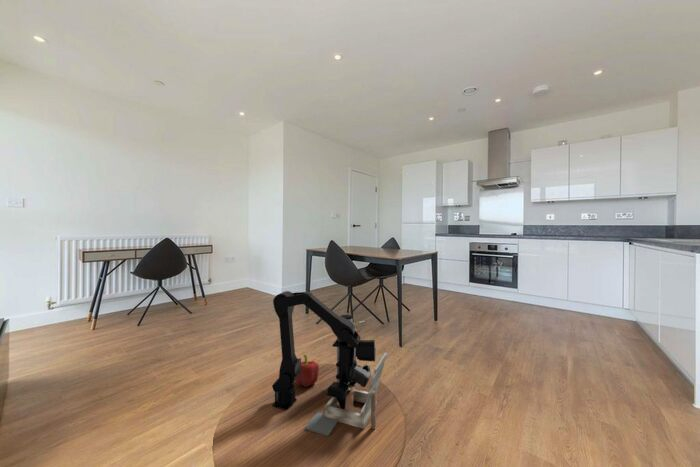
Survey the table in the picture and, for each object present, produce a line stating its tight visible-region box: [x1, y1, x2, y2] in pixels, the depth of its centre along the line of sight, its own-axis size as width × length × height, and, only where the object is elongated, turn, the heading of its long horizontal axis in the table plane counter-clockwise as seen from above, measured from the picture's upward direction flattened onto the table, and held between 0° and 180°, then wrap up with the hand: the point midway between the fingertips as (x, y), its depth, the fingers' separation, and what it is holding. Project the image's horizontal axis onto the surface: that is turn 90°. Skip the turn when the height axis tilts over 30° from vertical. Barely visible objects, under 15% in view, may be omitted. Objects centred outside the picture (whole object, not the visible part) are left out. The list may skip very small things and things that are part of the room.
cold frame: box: [323, 352, 388, 430], centre depth 91 cm, size 18×14×19 cm
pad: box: [304, 412, 339, 437], centre depth 84 cm, size 8×8×1 cm
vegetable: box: [294, 354, 320, 387], centre depth 110 cm, size 11×10×10 cm
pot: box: [338, 385, 356, 412], centre depth 92 cm, size 6×6×7 cm
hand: (346, 404), depth 92 cm, fingers closed on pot, 5 cm apart
